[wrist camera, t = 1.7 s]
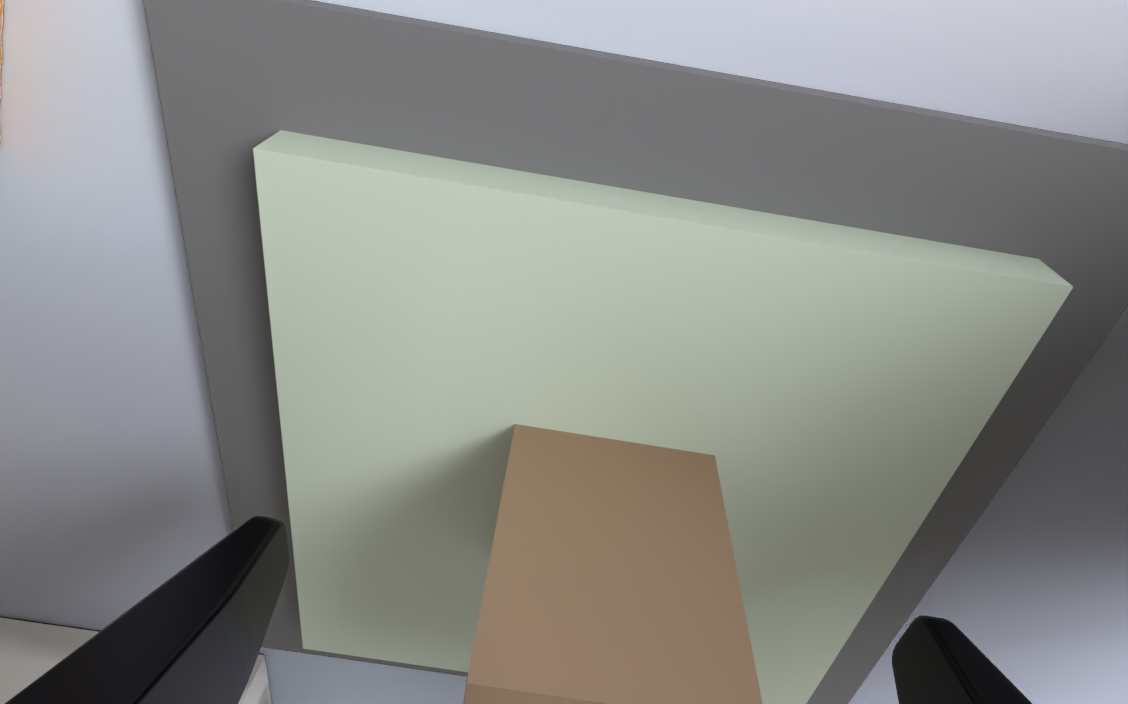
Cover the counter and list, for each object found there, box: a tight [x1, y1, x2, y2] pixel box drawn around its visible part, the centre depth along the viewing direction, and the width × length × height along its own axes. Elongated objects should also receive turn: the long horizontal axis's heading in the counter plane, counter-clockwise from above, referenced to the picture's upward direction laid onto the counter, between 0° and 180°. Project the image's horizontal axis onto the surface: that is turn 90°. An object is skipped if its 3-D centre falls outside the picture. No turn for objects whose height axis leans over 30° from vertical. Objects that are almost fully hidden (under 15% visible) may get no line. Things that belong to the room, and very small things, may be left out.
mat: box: [143, 0, 1128, 704], centre depth 12 cm, size 13×13×1 cm
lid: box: [253, 130, 1073, 704], centre depth 9 cm, size 10×10×5 cm
